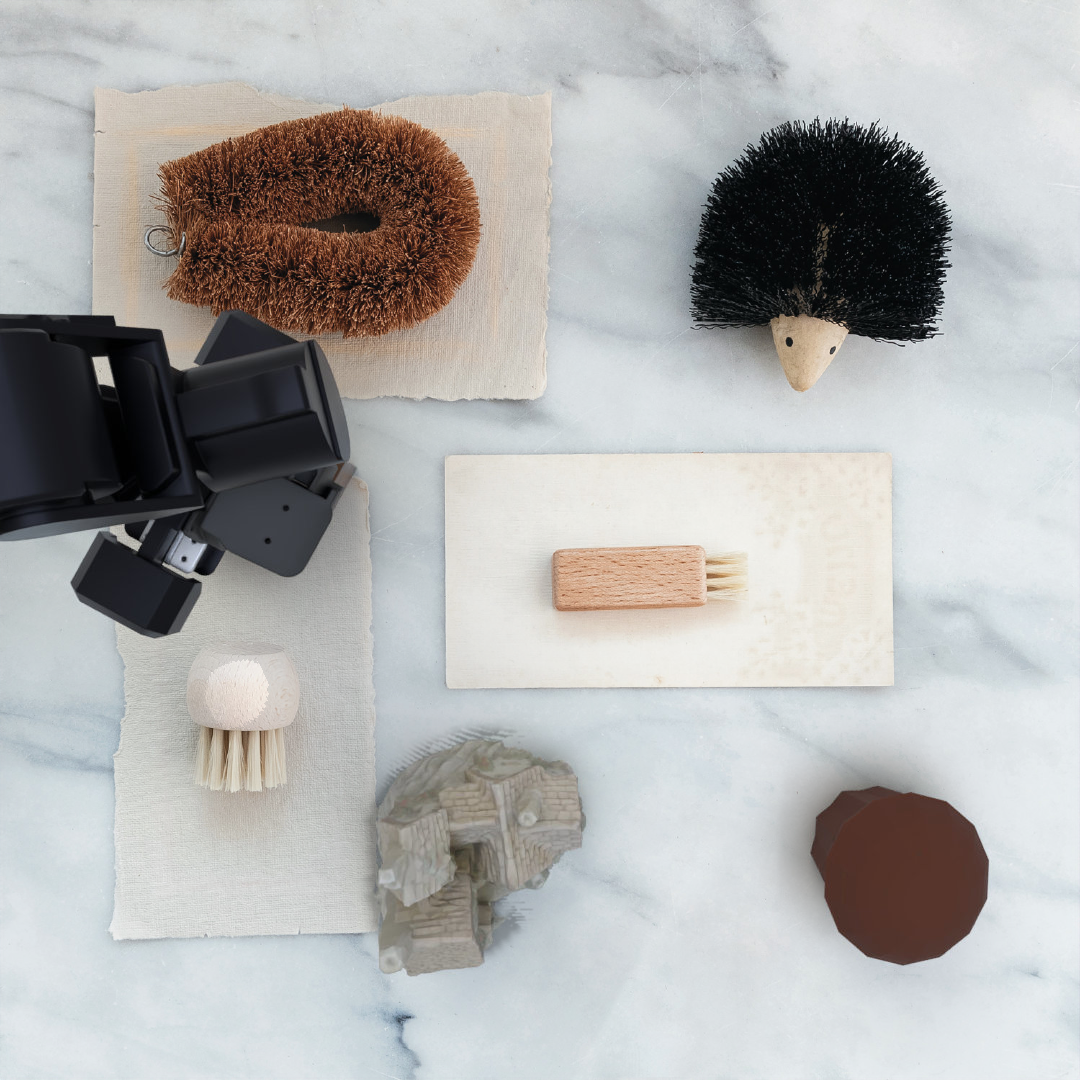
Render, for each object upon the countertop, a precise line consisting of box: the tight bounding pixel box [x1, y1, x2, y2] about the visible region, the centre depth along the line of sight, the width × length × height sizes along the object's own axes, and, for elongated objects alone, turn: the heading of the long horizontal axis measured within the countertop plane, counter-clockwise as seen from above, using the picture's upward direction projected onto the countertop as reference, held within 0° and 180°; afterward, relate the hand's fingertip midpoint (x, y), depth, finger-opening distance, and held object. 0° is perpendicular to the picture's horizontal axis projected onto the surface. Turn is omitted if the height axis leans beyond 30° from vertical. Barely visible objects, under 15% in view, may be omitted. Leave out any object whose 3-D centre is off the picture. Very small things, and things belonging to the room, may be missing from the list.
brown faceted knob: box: [810, 785, 990, 967], centre depth 59 cm, size 12×11×10 cm
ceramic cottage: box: [374, 738, 587, 977], centre depth 57 cm, size 16×16×15 cm
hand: (248, 485), depth 57 cm, fingers closed on boat, 3 cm apart
